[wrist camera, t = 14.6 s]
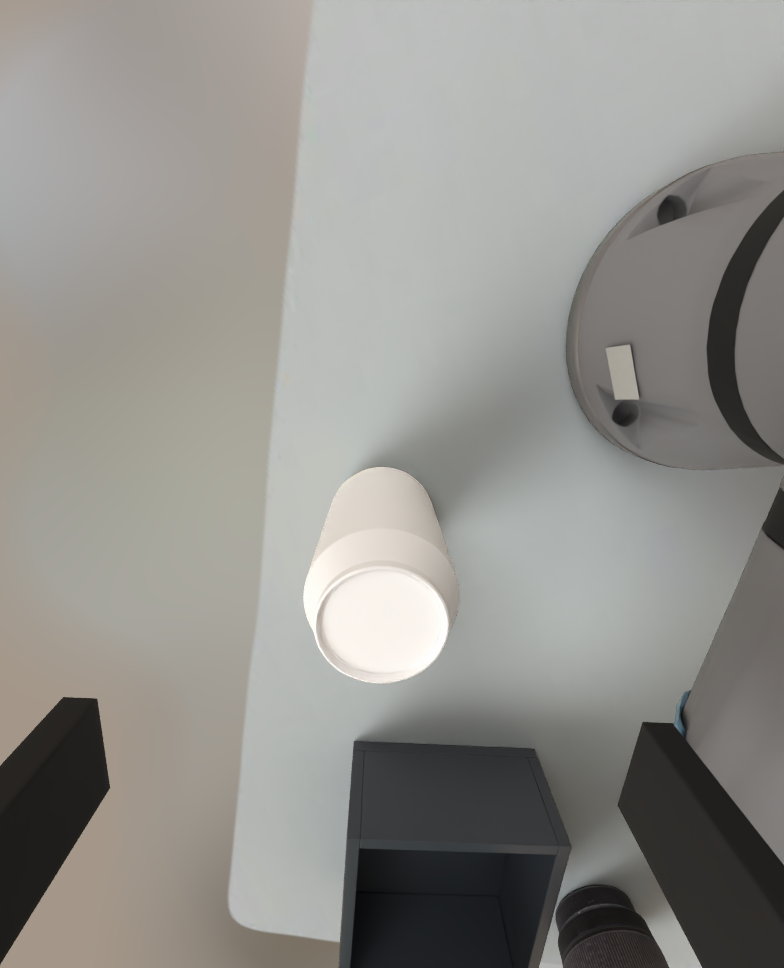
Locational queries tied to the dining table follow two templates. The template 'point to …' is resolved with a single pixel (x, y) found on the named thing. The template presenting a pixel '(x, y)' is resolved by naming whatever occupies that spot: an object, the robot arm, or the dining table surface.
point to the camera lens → (604, 932)
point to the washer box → (449, 858)
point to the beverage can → (381, 579)
